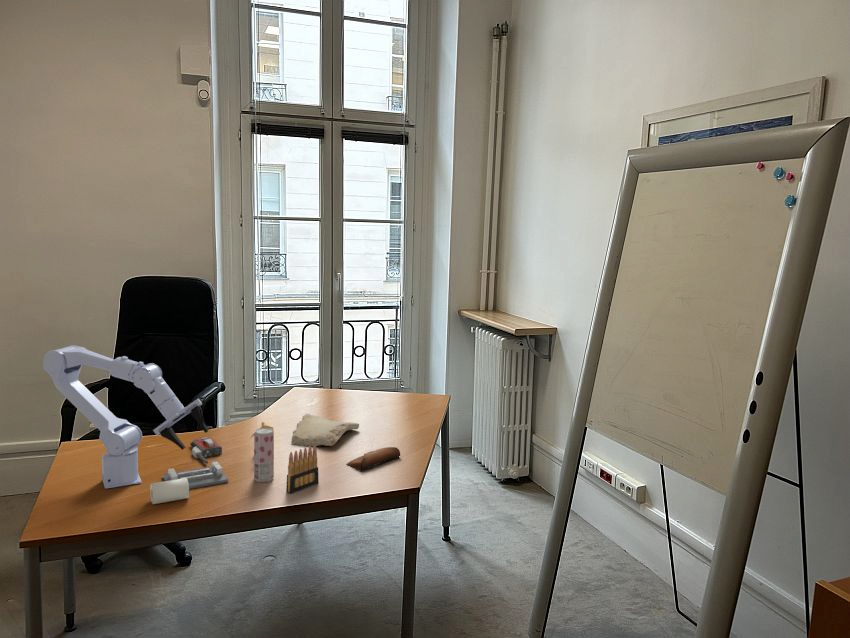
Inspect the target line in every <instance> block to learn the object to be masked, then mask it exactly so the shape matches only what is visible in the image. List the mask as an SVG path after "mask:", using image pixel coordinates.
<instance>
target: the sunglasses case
mask: <svg viewBox="0 0 850 638" xmlns="http://www.w3.org/2000/svg"><path fill="white" fill-rule="evenodd" d="M399 456H400V457H401V450H400V449H399V448H398V447H395V446H394V447H391V446H389V447H387V446H386V447H381V448H378V449H376V450H372V451H369V452H366V453H364V454H363V455H361V456H358V457H356V458H354V459H352V460H350V461H349V462H347V463H346V464H345V465H347V466H346V467H349V466H350V468H352V469H354V468H355V470H356V471H359V470H360V471H359V472H363V471H366V470H369V469H371V468H373V467H374V466H376V465H378V464H383V463H385V462H386V461H387V462H388V461H390V460H394V459H397V458H400V457H399Z"/></svg>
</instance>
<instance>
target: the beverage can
mask: <svg viewBox="0 0 850 638" xmlns="http://www.w3.org/2000/svg"><path fill="white" fill-rule="evenodd" d="M259 428H260V427H259ZM259 428H257V429H255V430H254V433H255V434H254V433H253V434H254V436H253V453H254V454H253V479H254V480H255V482H257V483H268V482H271V481H273V479H274V477H275V476H274V473H275V472H274V470H275V467H274V466H275V465H274V464H275V458H274V457H275V455H274V454H275V453H274V452H275V451H274V449H275V447H274V446H275V432H274V433H273V430H274V429H273V430H272V429H270V428H260V429H259Z"/></svg>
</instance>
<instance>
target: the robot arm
mask: <svg viewBox="0 0 850 638" xmlns="http://www.w3.org/2000/svg"><path fill="white" fill-rule="evenodd" d="M83 365H84V366H89V367H92V368H97V369H100V370H105V371H109V374H110V375H111V376H112V377H114V378H117V379H121V380H124V381H127V382H131V383H133V385H134V386H135V387H136V388H138V389H141V390H143V392H144V393H145V394H147V395H148V397H149V398H150V399H151V401H152V402H153V404H154V405H155V407H156V408H157V409H158V410H159V412H160V413H161V414H162V416H163V417H164V418H165V421H163V423H160V424H159V425H158V426H157V427H155V428H154V429H152V431H153V432H154V434H155V435H156V436H159V435H160V436H161V437H163V438H164V439H167V440H169V441H170V442H172V443H173V444H175V445H176V446H177V447H179V448H180V449H181V450H182V451H183V450H184V449H186V446H185V444H184V443H183V442H182V441H181V439H179V437H178V435H177V434H176V432H175V430H174V429H173V427H172V426H173V425H174V424H176V423H177V422H179V421H180V420H182V419H183V418H184V417H186V416H187V415H189V414H190V416H192V417H193V419H194V420H195V421H196V422H197V423H198V424H199V426H200V427H201V429H202V431H203V432H204V433H205V434H206V433H208V432H209V429H208V426H207V425H206V422H205V419H204V414H203V410H202V407H201V406H202V405H203V403H202V401H201V399H200V398H197V399H195V400H193V402H190V403H189V404H188V405H187V406H185V407H184V405H183V403H181V401H180V400H179V398H178V397H177V396H176V394H175V393H174V391H173V390H172V389H171V388H170V386H169V385H168V384H167V382H166V381H165V379H164V378H163V371H162V368H161V367H160V366H159V365H157V364H155V363H153V362H151V363H147V364H144V361H139V362H138V361H134V360H132V359H129V357H128V356H126V355H123V356H118V357H116V358H115V359H114V358H111V357H108V356H105V355H103V354H99V353H97V352H95V351H91V350H89V349H87V348H86V347H83V346H78V345H76V344H73V345H68V346H65V347H62V348H58V349H54V350H49V351H47V352H46V353H45V354H44V356H43V362H42V366H43V367H42V369H43V370H44V371H45V372H46V373H47V374H48V375H49V376H50V378H51V380H52V382H53V385H54V387H55V388H56V390H57V391H59V393H60V394H61V395H62V396H64V397H65V398H66V400H68V401H69V402H70V403H71V404H72V405H73V406H74V407H75V408H76V409H77V410H78V411H79V412H80V413H81V414H82V415H83V416H84V417H85V418H86V419H88V421H89V422H91V424H93V426H95V427H96V429H98V430H99V431H100V432H99V438H98V439H99V440H100V442H101V443H102V444H103V446H104V449H105V450H106V451H107V453H102V454H101V471H102V472H101V480H102V483H103V487H104V489H110V488H111V489H112V488H118V487H125V486H131V485H136V484H141V483H142V479H141V477H140V474H139V459H138V458H139V455H138V453H139V452H138V448H139V443H141V441H142V440H143V432H142V430H141V429H140V427H139V426H138V425H135V424H132V423H130V422H129V421H128V420H127V419H125V418H119V417H117V416H116V415H114V413H113V412H112V411H110V409H108V407H107V406H105V405H104V403H102V402H101V401H100V400H99V399H98V398H97V396H95V395H94V394H93V393H92V392H91V391H90V390H89V389H88V388H87V387H86V386H85V385H84V384H82V382H81V381H79V376H80V373H81V370H82V368H83V367H82V366H83Z"/></svg>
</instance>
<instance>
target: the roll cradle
mask: <svg viewBox="0 0 850 638" xmlns="http://www.w3.org/2000/svg"><path fill="white" fill-rule="evenodd" d="M182 478H187V480H188V483H189V490H193V489H199V488H204V487H205V488H206V487H210V486H216V485H221V484H227V483H229V478H228V476H226V474H225V473H224V472H223V467H222V466H221V465H220V463H219V462H218V461H212V462H211V466H207V467H200V468H194V469H188V470H181V471H176V470H175V469H174V468H172V467H171V468H168V469H167V473H163V474H162V479H163V482H164V481H170V480H176V479H182Z"/></svg>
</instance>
